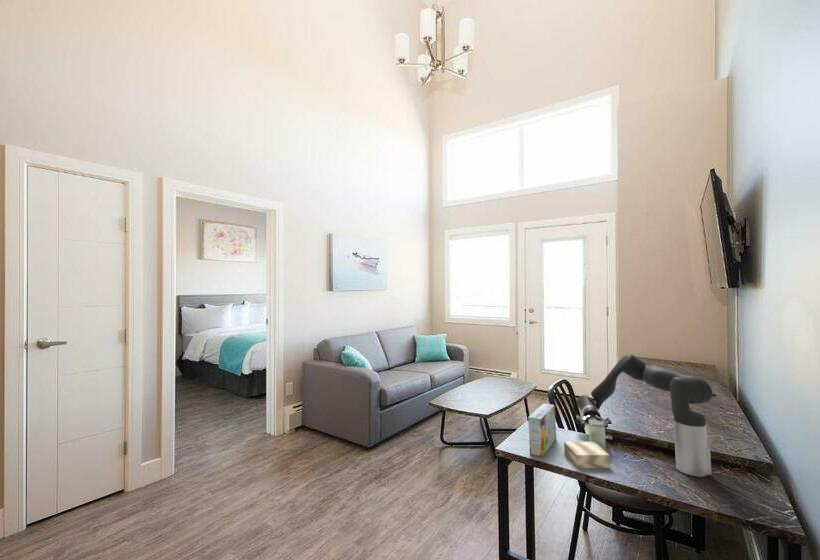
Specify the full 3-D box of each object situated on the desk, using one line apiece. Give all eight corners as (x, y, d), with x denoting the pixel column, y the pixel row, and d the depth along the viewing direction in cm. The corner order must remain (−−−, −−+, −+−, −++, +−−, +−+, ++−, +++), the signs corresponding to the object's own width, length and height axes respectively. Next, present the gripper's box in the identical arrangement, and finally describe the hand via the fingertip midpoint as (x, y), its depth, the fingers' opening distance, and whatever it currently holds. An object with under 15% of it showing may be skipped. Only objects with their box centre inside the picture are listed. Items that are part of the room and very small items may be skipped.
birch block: (594, 454, 147) (594, 441, 147) (610, 468, 135) (609, 454, 135) (564, 454, 147) (564, 441, 147) (577, 469, 135) (576, 455, 135)
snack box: (543, 436, 164) (542, 402, 165) (557, 439, 161) (555, 404, 162) (528, 454, 147) (527, 416, 148) (542, 457, 144) (541, 418, 144)
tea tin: (589, 443, 156) (588, 419, 157) (603, 445, 154) (603, 421, 155) (590, 448, 151) (589, 424, 152) (605, 450, 149) (604, 425, 150)
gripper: (574, 405, 177) (576, 416, 162) (607, 408, 172) (613, 419, 157) (575, 421, 177) (577, 433, 162) (608, 424, 172) (614, 437, 157)
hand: (595, 426), depth 159 cm, fingers open, 8 cm apart
